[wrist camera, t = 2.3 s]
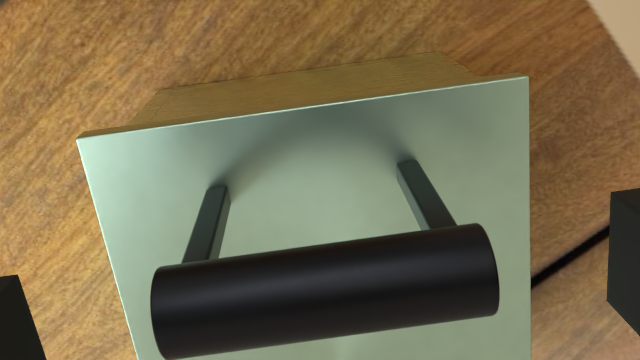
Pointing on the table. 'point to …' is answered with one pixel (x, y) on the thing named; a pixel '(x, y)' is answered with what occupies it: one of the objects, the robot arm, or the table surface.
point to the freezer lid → (325, 226)
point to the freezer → (301, 86)
